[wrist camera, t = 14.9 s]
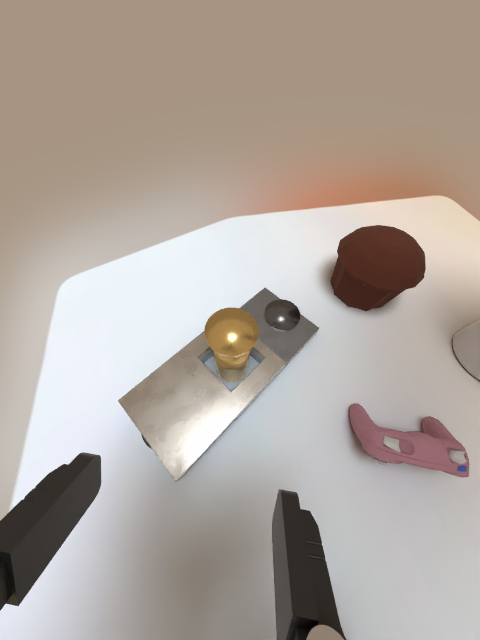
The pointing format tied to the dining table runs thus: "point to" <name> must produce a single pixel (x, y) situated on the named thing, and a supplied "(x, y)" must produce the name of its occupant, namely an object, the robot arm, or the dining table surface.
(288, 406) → the dining table surface
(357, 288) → the muffin
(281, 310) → the link plate lower
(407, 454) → the video game controller
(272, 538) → the robot arm
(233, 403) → the plate
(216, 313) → the brass pin
